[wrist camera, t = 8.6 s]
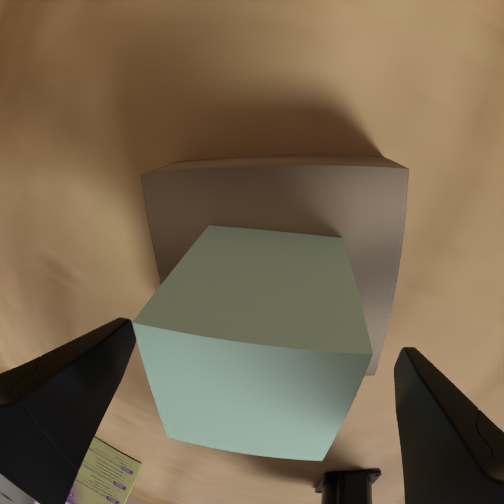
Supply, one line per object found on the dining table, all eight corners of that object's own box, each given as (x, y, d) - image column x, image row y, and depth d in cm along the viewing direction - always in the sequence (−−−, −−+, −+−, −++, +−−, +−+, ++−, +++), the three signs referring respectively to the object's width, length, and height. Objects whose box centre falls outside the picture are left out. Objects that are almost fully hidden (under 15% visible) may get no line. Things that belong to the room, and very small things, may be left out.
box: (76, 435, 33) (43, 490, 22) (78, 424, 30) (40, 486, 20) (135, 470, 34) (109, 528, 23) (143, 463, 31) (114, 529, 21)
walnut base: (364, 327, 17) (374, 375, 13) (203, 323, 19) (182, 366, 15) (381, 155, 13) (408, 168, 9) (179, 160, 15) (141, 175, 11)
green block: (322, 341, 13) (322, 460, 8) (212, 328, 14) (167, 437, 8) (342, 238, 11) (372, 353, 5) (209, 225, 11) (132, 322, 6)
